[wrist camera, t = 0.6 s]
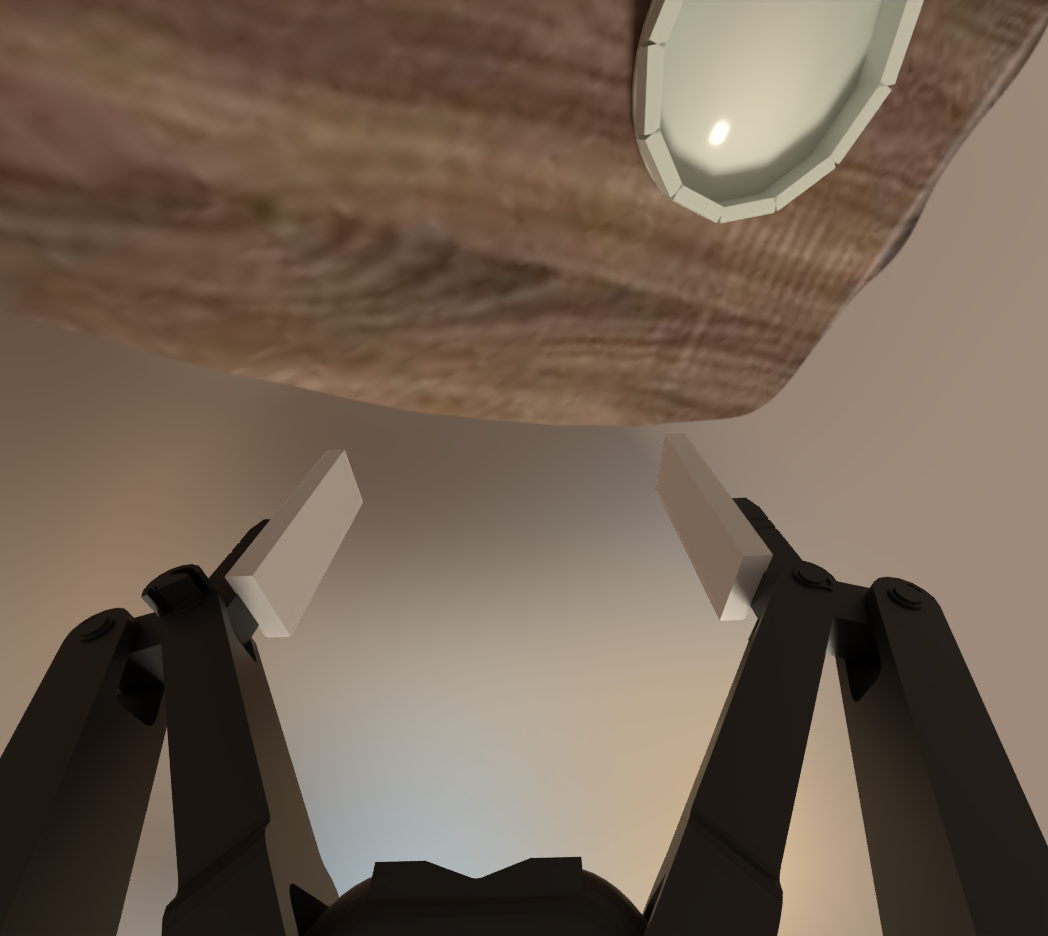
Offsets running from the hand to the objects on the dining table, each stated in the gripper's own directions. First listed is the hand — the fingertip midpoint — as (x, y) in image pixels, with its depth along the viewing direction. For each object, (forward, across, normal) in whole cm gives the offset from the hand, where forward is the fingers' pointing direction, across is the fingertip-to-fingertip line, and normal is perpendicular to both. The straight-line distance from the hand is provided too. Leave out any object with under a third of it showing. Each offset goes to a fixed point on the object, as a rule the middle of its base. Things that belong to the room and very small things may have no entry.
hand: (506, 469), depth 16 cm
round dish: (+22, +17, +16) cm, 32 cm away
